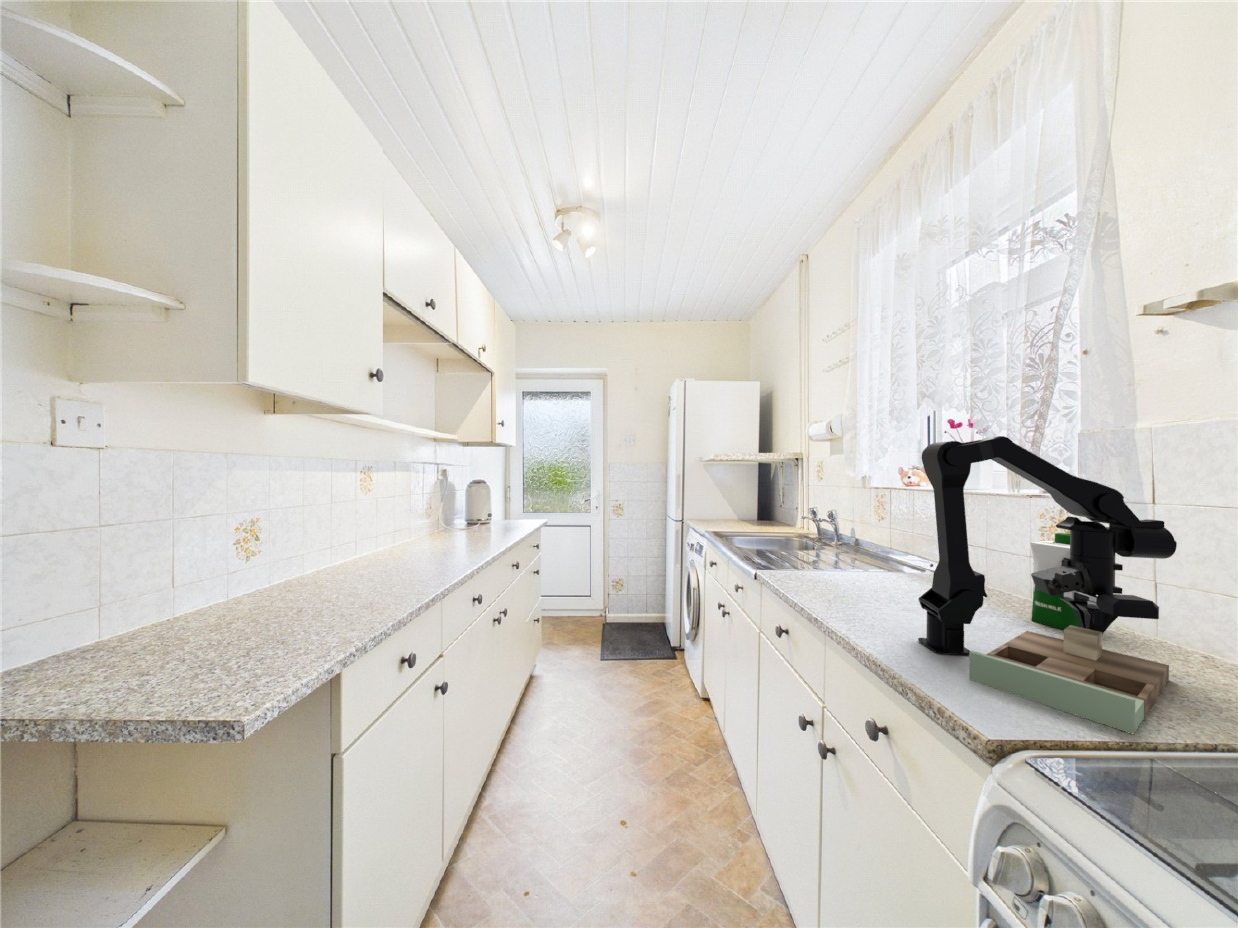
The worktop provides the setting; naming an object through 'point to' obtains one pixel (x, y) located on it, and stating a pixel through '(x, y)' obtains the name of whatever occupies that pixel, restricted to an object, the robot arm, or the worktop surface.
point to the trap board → (1088, 666)
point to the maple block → (1083, 642)
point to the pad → (1058, 692)
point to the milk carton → (1046, 605)
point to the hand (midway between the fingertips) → (1090, 641)
